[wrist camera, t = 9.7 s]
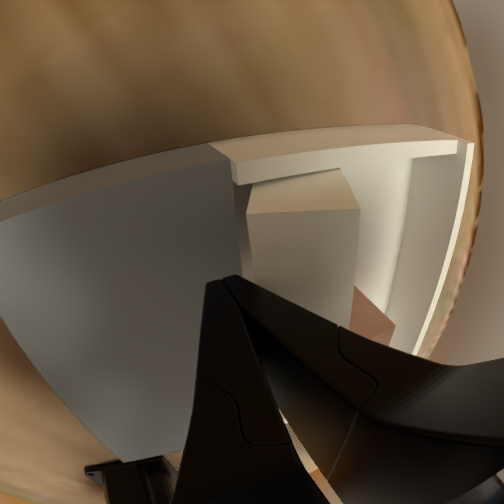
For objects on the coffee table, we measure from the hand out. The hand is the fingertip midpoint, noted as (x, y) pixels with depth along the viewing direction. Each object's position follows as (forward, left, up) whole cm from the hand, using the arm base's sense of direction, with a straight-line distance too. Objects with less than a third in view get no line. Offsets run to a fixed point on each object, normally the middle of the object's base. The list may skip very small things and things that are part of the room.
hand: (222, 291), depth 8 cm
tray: (-4, -6, -4) cm, 8 cm away
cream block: (0, -2, -1) cm, 2 cm away
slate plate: (-4, +3, -4) cm, 6 cm away
